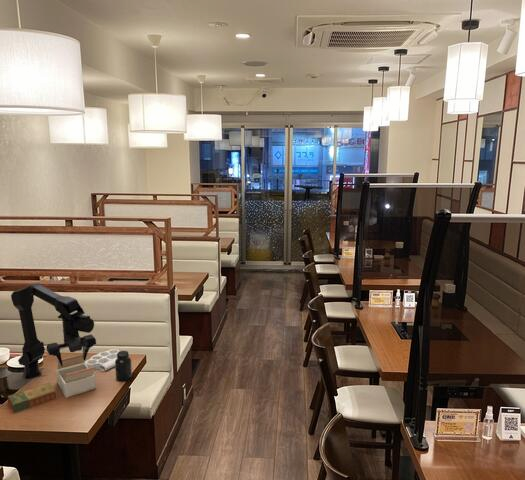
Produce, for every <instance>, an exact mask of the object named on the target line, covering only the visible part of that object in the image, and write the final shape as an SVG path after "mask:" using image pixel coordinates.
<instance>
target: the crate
mask: <svg viewBox="0 0 525 480" xmlns="http://www.w3.org/2000/svg"><path fill="white" fill-rule="evenodd" d="M87 368H88V367H87V365H86V364H85V362H84V363H80V364H76V365H73V366H69V367H65V368H61V369H57V370H55V372H56V373H55V375H56V384H57V386H58V387H59V389H60V390H61V392H62V394H63V396H64V397H65V398H69V397H73V396H76V395H79V394H83V393H86V392H90V391H93V389H94V390H96V376H95V373H94V374H93V375H91V376H87V377H84V378H80V379H76V380H73V381H69V382H66V374H68V373H72V372H76V371H79V370H83V369H87Z"/></svg>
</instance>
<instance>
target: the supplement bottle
mask: <svg viewBox="0 0 525 480" xmlns="http://www.w3.org/2000/svg"><path fill="white" fill-rule="evenodd" d="M114 368H115V379H116V381H118V382H127V381H130V379H131V378H132V377H133V374H132V373H133V371H132V359H131V357H130V355H129V352H128V350H121V351H120V350H119V352H118V353H117V359H116V360H115V366H114Z"/></svg>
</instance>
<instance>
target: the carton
mask: <svg viewBox="0 0 525 480" xmlns="http://www.w3.org/2000/svg"><path fill="white" fill-rule="evenodd" d="M57 398H58V397H57V392H56V389H55V388H54V387H53V385H52V384H51V383H50V382H47V383H46V382H45V383H43V384H41V385H37V386H35V387H32V388H28V389H26V390H23V391H19V392H15V393H13V394H10V395H8V396H7V405H8V406H9V409H10V410H11V411H12V412H13V413H14V414H16V413H18V412H21V411H24V410H27V409H30V408H32V407H36V406H39V405H42V404H44V403H48V402H50V401H53V400H57Z"/></svg>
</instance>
